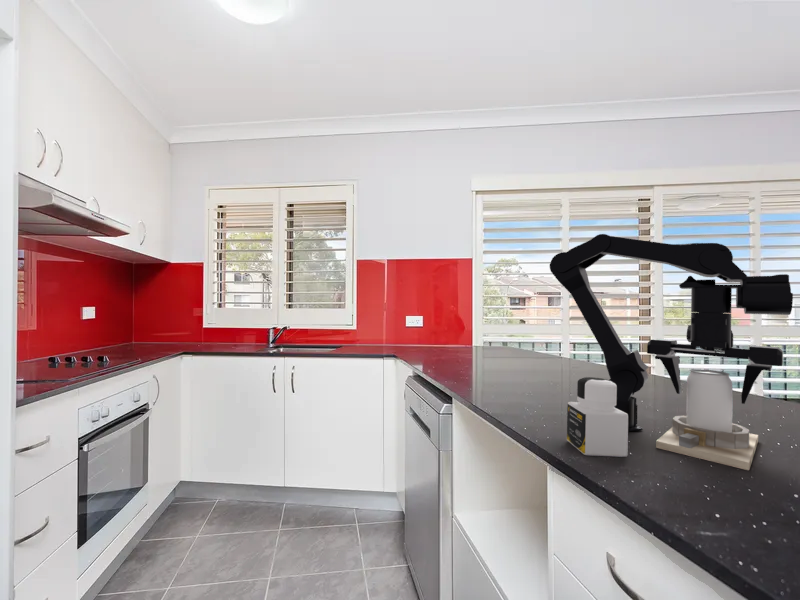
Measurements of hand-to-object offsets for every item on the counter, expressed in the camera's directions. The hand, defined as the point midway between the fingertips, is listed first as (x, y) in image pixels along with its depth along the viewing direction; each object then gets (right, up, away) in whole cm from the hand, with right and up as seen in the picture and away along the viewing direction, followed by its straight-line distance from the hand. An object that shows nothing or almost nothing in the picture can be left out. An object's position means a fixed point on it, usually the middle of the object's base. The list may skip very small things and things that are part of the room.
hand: (709, 398), depth 69 cm
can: (0, -7, 0) cm, 7 cm away
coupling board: (0, -8, 0) cm, 8 cm away
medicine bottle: (-23, -8, -4) cm, 25 cm away
